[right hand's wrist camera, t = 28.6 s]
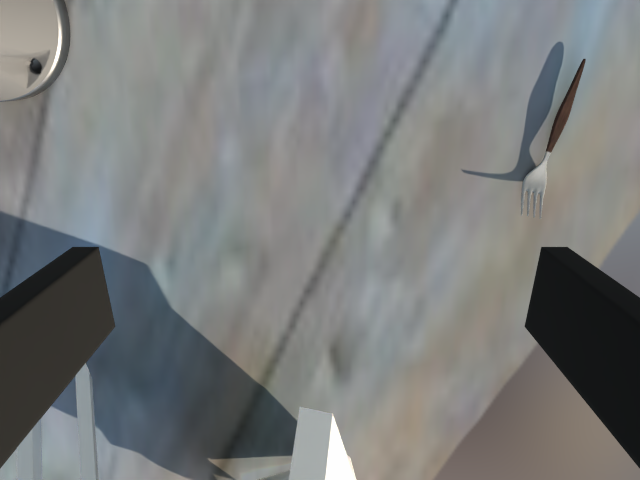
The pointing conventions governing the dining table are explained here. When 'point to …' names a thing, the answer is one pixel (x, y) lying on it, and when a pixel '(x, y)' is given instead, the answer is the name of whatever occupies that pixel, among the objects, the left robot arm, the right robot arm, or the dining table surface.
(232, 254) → the dining table surface
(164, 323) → the dining table surface
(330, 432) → the white plastic object
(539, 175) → the fork
